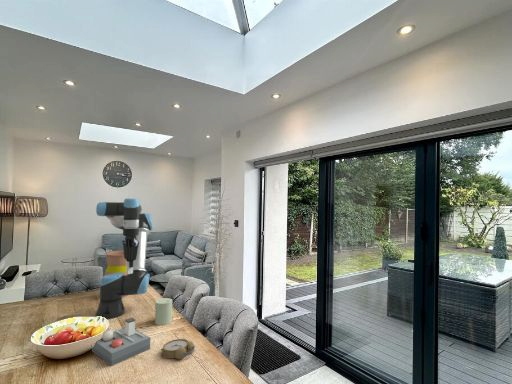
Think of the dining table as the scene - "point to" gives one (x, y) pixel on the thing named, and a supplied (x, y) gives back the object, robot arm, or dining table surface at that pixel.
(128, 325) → the slider knob
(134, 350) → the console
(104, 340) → the button cream
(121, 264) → the vase
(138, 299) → the dining table surface
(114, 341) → the button red
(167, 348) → the alarm clock
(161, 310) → the can
